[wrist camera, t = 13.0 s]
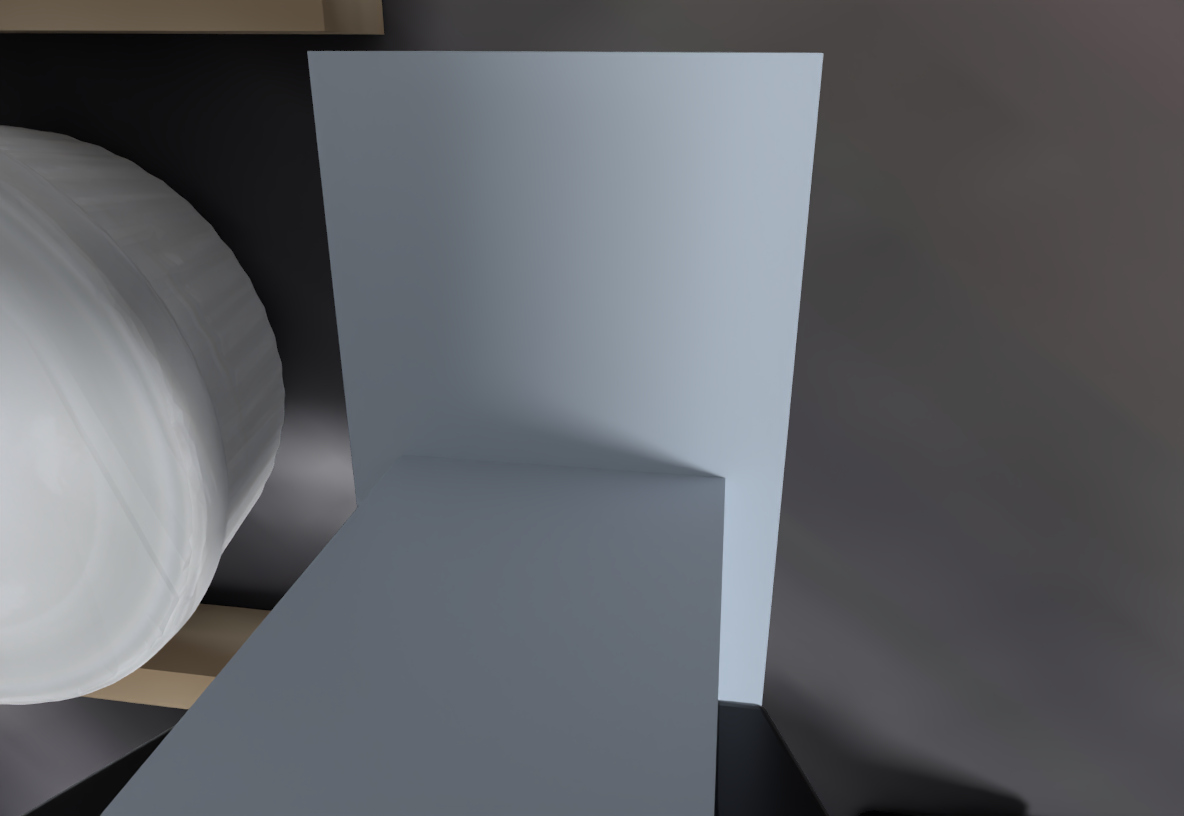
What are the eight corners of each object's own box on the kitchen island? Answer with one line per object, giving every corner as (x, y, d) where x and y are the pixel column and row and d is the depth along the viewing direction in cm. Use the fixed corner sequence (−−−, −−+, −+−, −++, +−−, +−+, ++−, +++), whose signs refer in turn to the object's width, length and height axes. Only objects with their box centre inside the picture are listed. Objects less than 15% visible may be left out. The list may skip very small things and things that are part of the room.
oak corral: (431, 661, 21) (394, 734, 19) (-94, 604, 23) (-184, 664, 21) (379, -27, 16) (318, -41, 14) (-303, -22, 18) (-458, -33, 16)
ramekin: (-227, 172, 19) (-548, 211, 15) (198, 7, 17) (-25, -11, 12) (22, 598, 23) (-171, 744, 18) (406, 520, 20) (300, 667, 15)
